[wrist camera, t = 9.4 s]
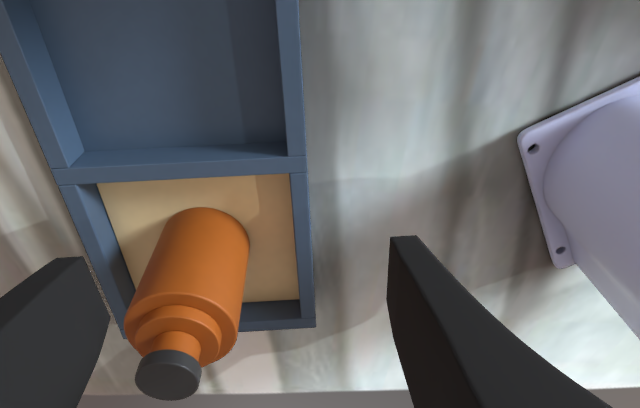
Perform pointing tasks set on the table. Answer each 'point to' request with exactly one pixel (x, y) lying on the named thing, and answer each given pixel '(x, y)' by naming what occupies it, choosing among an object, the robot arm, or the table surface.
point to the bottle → (188, 301)
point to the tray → (173, 133)
